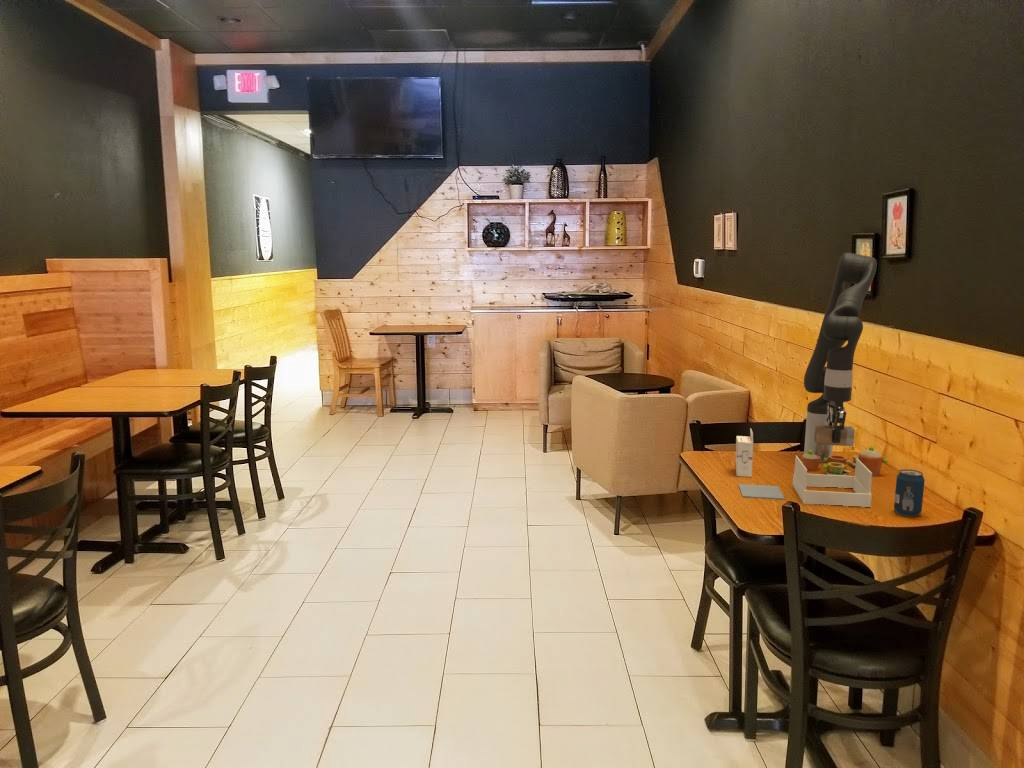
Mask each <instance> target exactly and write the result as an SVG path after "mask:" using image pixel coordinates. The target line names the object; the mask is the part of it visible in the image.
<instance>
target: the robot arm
mask: <svg viewBox="0 0 1024 768" xmlns="http://www.w3.org/2000/svg"><path fill="white" fill-rule="evenodd" d="M877 265H878V261H877V259H876V258H875V257H872V256H869V255H863V254H857V253H853V252H844V253H843V254H842V255H841V256H840V258H839V262H838V263H837V268H836V272H835V275H834V281H833V286H832V288H831V293H830V298H829V300H828V304H827V307H826V310H825V312H824V316H823V318H822V322H821V325H820V330H819V333H818V338H817V340H816V343H815V346H814V350H813V353H812V356H811V357H810V360H809V362H808V365H807V368H806V370H805V373H804V378H803V387H804V389H805V391H806V392H808V393H812V394H821V396H819V397H818V398H816V399H814V400H812V401H810V402H808V403H807V406H806V407H807V409H806V422H805V436H804V450H803V451H804V452H803V455H804V454H806V453H808V450H812V454H815V455H817V456H819V457H820V462H819V463H825V462H824V458H828V459H829V456H830V455H833V451H834V450H833V449H834V445H817V444H816V442H815V441H814V437H815V425H832V430H833V431H832V442H833V443H840V437H841V431H842V430H844V426H845V425H846V424H845V422H846V417H847V411H846V409H845V406H844V403H847V402H850V401H851V400H852V394H853V393H852V392H853V391H852V390H853V377H854V375H853V373H854V372H853V371H854V370H853V369H854V368H853V367H854V356H855V351H856V348H857V345H858V344H859V341H860V338H861V335H862V334H863V330H864V323H863V321H862V319H861V318H860V314H861V310H862V307H863V306H862V305H863V303H864V299H865V298H866V296H867V293H868V292H869V289H870V287H871V285H872V283H873V280H874V278H875V275H876V271H877V267H878V266H877ZM845 283H848V284H852V286H849V287H848V288H846V289H845ZM853 284H854V285H853ZM846 342H847V343H846ZM844 344H845V345H844ZM838 424H839V425H838ZM827 463H829V461H828V462H827Z"/></svg>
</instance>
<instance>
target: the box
mask: <svg viewBox="0 0 1024 768" xmlns="http://www.w3.org/2000/svg"><path fill="white" fill-rule="evenodd" d="M832 431H833V430H832V425H815V437H814V441H815V442H816V444H817V445H833V446H840V447H842V446H843V447H854V444H855V443H854V442H855V432H856V430H855V429H854V427H853V426H851V425H844V430H842V431H841V437H840V443H833V442H832Z"/></svg>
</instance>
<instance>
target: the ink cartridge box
mask: <svg viewBox="0 0 1024 768" xmlns="http://www.w3.org/2000/svg"><path fill="white" fill-rule="evenodd" d="M749 432H750V436H745V435H744V436H743V435H736V438H735V444H736V445H735V462H734V470H735V474H736V477H747V478H748V477H750V478H752V476H753V459H754V457H753V456H754V432H753V430H752V428H751V427H750V428H749Z"/></svg>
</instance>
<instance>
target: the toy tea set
mask: <svg viewBox="0 0 1024 768" xmlns="http://www.w3.org/2000/svg"><path fill="white" fill-rule="evenodd" d="M801 458H802V460H801V462H802V463H803V465H804V466H805V468H806V469H807V471H817V470H818V469H819V464H820V463H821V462H820V457H819V456H817V455H815V454H812V450H808V453H806V454H804V453H803V454H802V455H801ZM856 458H858V459H859V460H860V461H861V462H862V463H863V464H864V465H865V466H866V467H867V468H868V469H869V470H870V471H871V472H872V477H879V476H880V474H881V473H880V472H881V469H882V464H883V463H884V464H888V463H889V459H888V458H884V456H883V455H882V454H881V453H880V452H879V451H877V450H876V449H875V448H874V446H872V445H871V446H869V447H868V449H867V448H866V449H865V450H863V451H861V452H859V453H858V454H857V455H852V460H853V461H852V460H850V459H849V460H847V457H846V456H844V455H839V454H832V455H830V456H829V459H828V458H824V462H823V463H825V464H823V465H822V468H823V470H825V471H824V472H825V475H844V476H848V474H851V472H852V471H851V470H848V469H845V467H846V465H848V464H849V465H850V466H851V468H854V469H855V466H856ZM828 461H829V462H828ZM826 463H827V464H826Z"/></svg>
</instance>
